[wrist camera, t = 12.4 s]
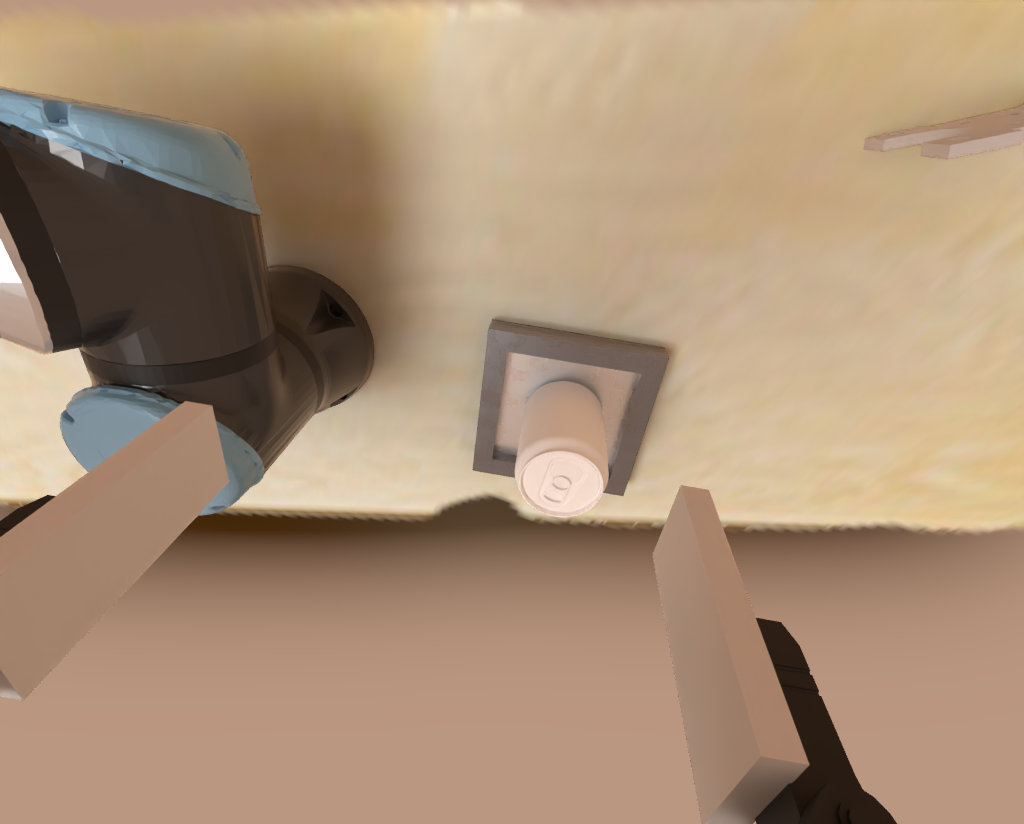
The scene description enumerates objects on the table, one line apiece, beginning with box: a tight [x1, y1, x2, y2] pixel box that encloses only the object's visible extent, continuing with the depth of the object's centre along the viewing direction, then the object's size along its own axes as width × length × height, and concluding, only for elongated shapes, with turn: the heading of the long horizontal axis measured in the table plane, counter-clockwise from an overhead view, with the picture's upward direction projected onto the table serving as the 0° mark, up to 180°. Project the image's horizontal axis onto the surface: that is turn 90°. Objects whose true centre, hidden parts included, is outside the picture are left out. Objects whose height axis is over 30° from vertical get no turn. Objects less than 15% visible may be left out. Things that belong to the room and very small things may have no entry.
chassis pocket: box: [473, 320, 669, 496], centre depth 51 cm, size 17×17×2 cm
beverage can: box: [515, 381, 609, 517], centre depth 46 cm, size 8×8×12 cm
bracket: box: [864, 104, 1024, 159], centre depth 31 cm, size 11×4×10 cm, turn 102°
